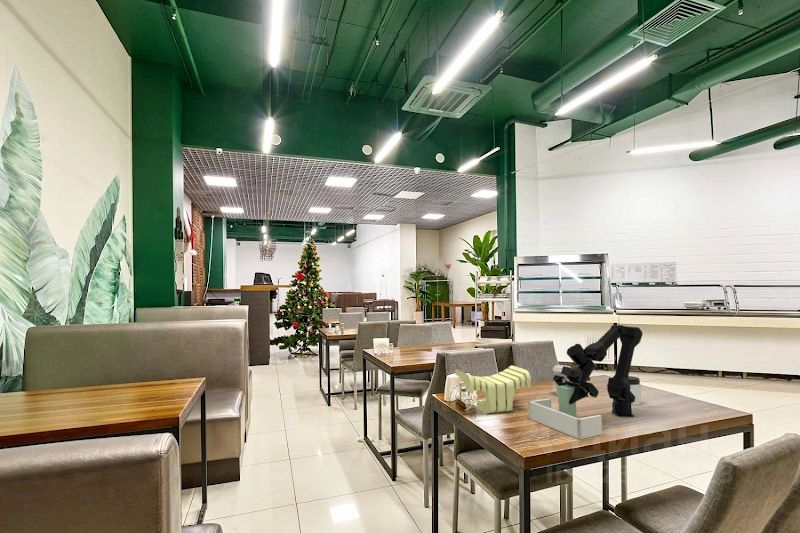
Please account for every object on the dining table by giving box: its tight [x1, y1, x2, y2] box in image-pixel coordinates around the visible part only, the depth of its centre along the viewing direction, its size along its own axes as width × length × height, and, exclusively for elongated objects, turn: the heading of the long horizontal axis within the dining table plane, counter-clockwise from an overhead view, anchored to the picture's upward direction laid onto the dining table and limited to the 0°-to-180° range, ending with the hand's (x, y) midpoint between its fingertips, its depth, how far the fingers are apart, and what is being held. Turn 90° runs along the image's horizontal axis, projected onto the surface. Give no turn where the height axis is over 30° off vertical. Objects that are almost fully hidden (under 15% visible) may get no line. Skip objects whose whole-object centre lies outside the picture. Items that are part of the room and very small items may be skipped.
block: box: [558, 385, 578, 418], centre depth 154 cm, size 4×4×12 cm
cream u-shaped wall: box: [528, 398, 603, 440], centre depth 152 cm, size 12×26×7 cm, turn 23°
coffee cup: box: [552, 364, 572, 397], centre depth 197 cm, size 10×10×15 cm
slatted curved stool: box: [455, 365, 532, 414], centre depth 176 cm, size 30×16×18 cm, turn 105°
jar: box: [628, 375, 643, 406], centre depth 184 cm, size 9×8×12 cm
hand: (564, 402), depth 153 cm, fingers closed on block, 4 cm apart
